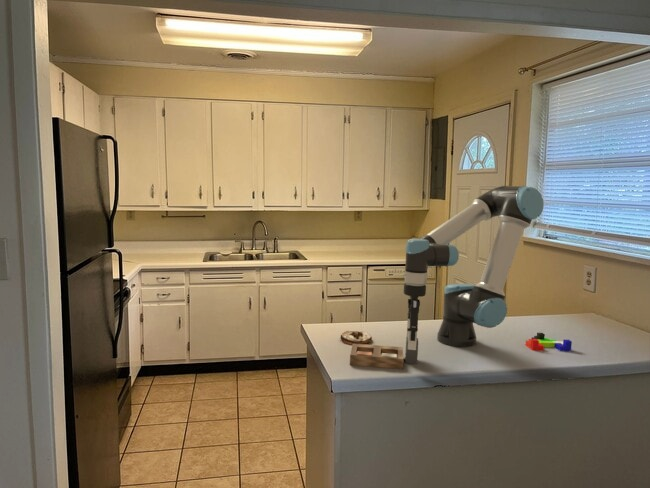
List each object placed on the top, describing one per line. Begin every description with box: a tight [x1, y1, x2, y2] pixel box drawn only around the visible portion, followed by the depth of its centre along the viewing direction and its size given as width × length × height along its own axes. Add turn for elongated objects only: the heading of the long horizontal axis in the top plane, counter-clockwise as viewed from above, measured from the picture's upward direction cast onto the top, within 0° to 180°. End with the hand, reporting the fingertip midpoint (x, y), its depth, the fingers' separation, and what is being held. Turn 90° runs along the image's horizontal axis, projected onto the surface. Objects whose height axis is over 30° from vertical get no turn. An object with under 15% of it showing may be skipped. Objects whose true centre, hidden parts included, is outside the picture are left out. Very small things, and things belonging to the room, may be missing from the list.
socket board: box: [349, 344, 404, 370], centre depth 171 cm, size 18×12×4 cm, turn 82°
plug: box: [404, 332, 419, 365], centre depth 171 cm, size 4×4×10 cm
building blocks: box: [524, 332, 573, 352], centre depth 193 cm, size 15×13×4 cm
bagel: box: [339, 330, 373, 346], centre depth 193 cm, size 15×15×4 cm
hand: (410, 343), depth 171 cm, fingers open, 13 cm apart
